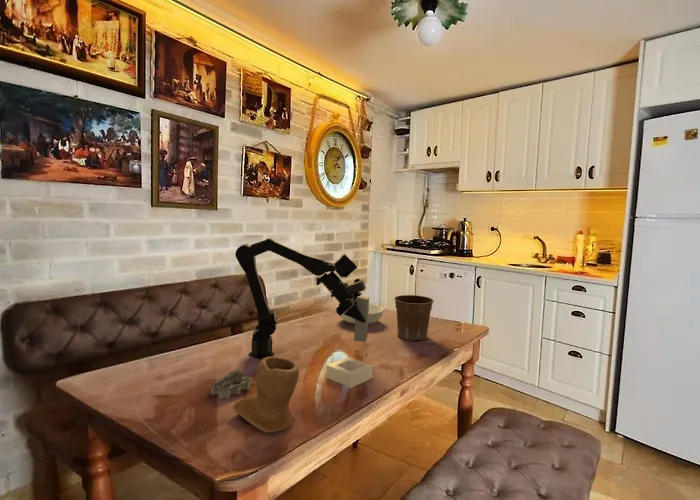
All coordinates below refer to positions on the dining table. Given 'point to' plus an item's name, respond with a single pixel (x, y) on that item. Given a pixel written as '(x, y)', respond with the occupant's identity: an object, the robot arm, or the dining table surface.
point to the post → (361, 327)
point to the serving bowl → (373, 314)
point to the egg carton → (230, 384)
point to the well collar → (349, 372)
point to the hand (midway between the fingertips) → (365, 320)
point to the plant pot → (413, 316)
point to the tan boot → (271, 395)
